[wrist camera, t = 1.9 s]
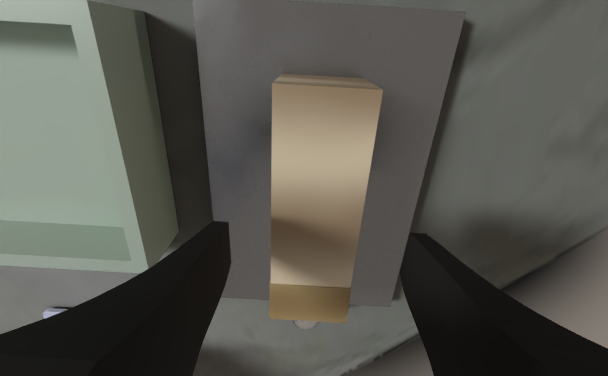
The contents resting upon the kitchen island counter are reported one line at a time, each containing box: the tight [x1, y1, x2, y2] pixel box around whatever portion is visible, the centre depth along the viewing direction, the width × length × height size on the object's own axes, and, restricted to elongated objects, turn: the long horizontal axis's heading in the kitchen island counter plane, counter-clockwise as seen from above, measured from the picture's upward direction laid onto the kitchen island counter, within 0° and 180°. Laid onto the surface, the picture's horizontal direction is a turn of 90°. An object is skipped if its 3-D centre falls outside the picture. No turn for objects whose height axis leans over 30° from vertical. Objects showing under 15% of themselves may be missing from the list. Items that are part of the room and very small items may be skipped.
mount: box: [192, 0, 466, 330], centre depth 16 cm, size 18×12×4 cm, turn 177°
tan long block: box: [269, 74, 383, 323], centre depth 15 cm, size 12×4×4 cm, turn 177°
